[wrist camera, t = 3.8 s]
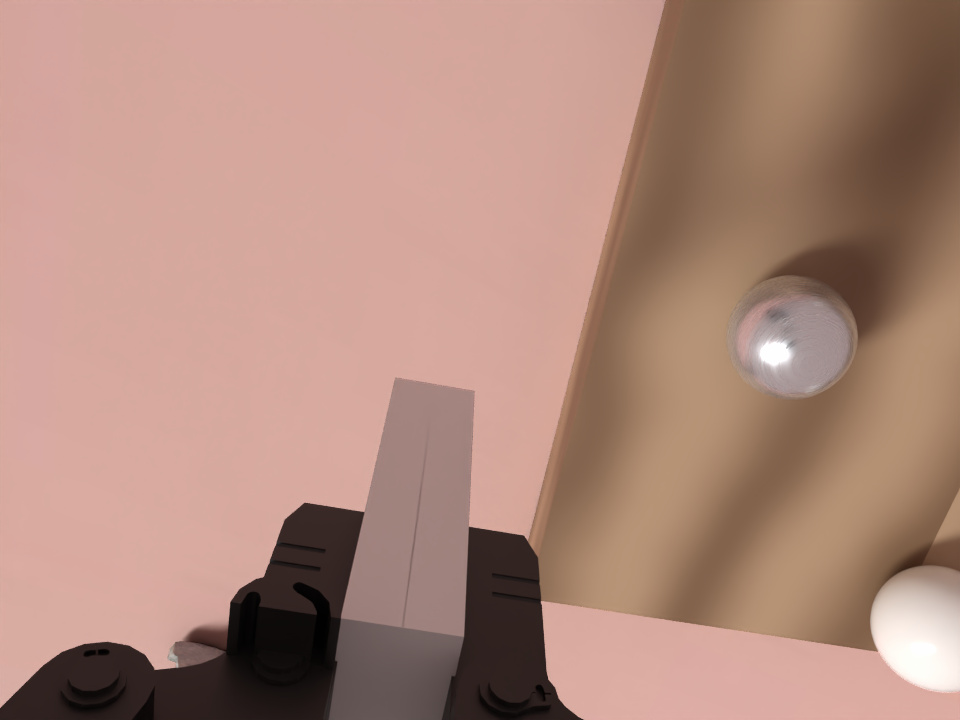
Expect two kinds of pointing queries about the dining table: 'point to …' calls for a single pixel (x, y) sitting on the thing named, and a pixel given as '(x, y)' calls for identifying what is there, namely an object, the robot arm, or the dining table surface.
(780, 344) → the steel ball
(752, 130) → the board
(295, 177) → the dining table surface
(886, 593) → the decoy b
